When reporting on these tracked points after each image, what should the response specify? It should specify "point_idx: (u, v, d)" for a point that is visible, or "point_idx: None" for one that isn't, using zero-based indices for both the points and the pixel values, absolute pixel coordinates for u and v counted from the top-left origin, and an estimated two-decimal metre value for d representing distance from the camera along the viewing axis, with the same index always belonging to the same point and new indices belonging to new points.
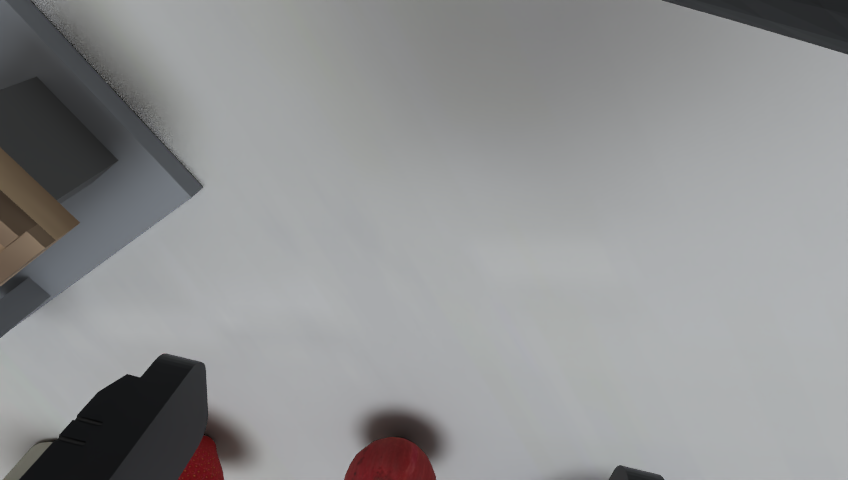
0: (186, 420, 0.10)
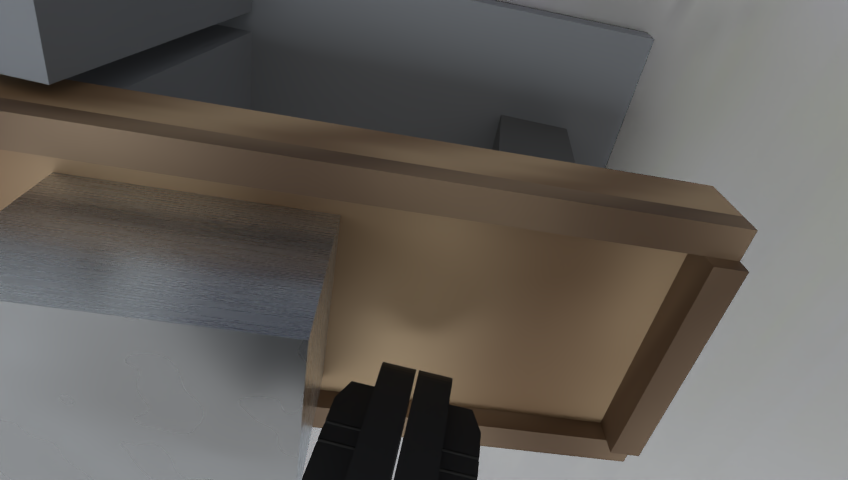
0: None
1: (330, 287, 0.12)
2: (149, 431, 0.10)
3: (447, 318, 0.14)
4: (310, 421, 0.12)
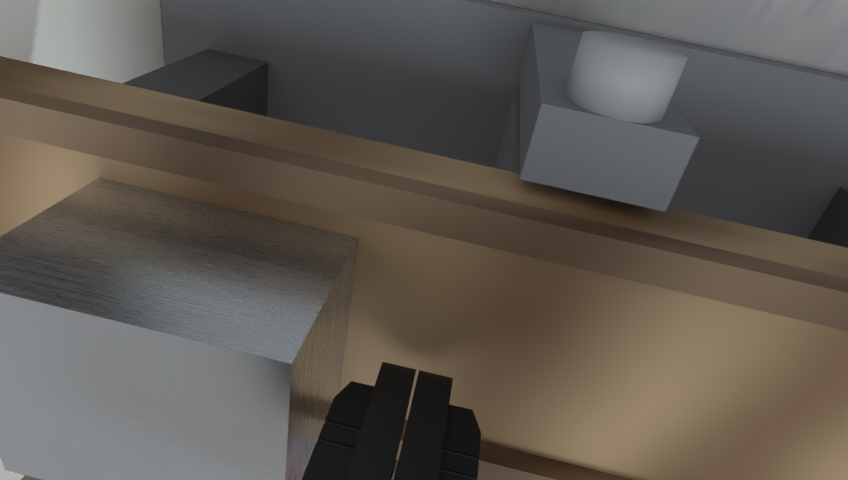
0: (403, 422, 0.11)
1: (344, 309, 0.12)
2: (146, 434, 0.10)
3: None
4: (313, 442, 0.12)
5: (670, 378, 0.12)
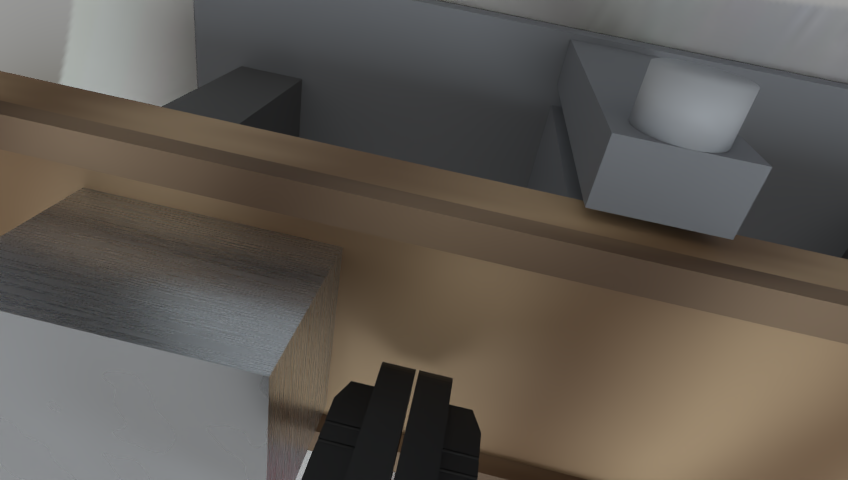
0: (403, 423, 0.11)
1: (328, 318, 0.12)
2: (127, 446, 0.10)
3: None
4: (297, 452, 0.12)
5: (731, 405, 0.12)
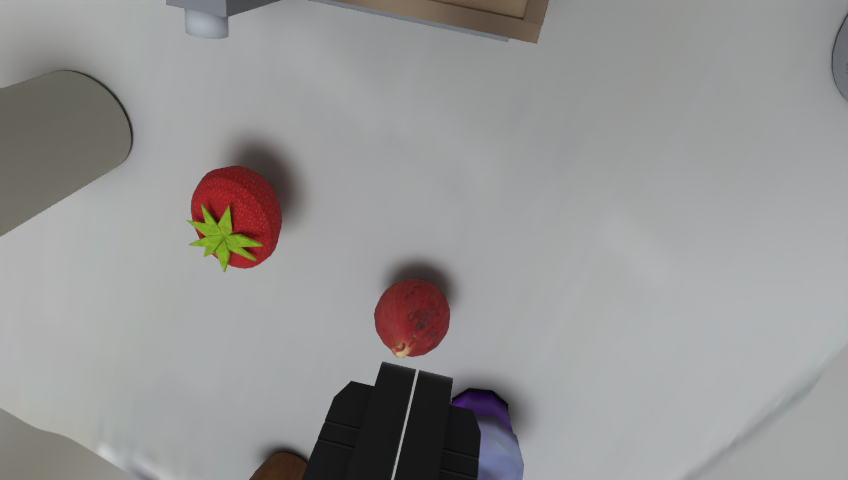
0: None
1: None
2: None
3: None
4: None
5: None
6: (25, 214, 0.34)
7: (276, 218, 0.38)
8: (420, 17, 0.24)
